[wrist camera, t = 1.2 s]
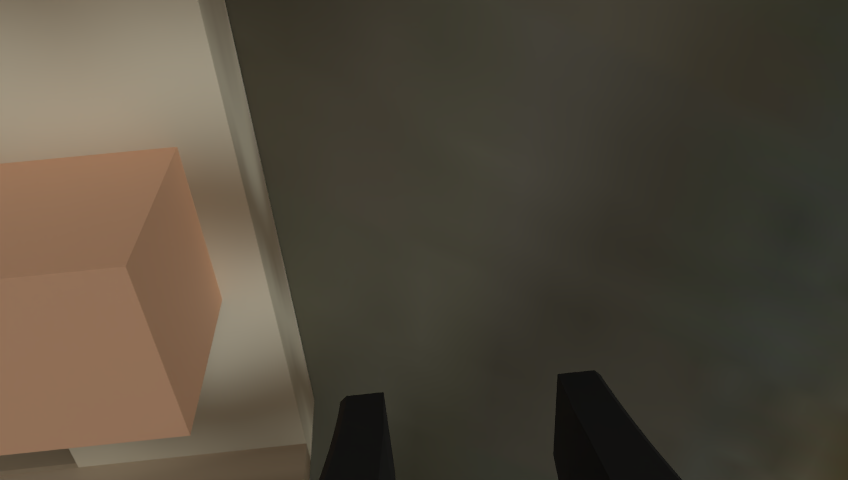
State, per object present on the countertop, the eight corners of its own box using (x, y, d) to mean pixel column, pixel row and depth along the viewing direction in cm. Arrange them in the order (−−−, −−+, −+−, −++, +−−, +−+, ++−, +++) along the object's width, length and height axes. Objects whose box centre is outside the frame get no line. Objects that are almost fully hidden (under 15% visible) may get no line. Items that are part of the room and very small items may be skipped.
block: (222, 299, 19) (190, 435, 15) (49, 316, 19) (-25, 458, 15) (177, 147, 16) (126, 266, 13) (-24, 166, 16) (-134, 292, 13)
